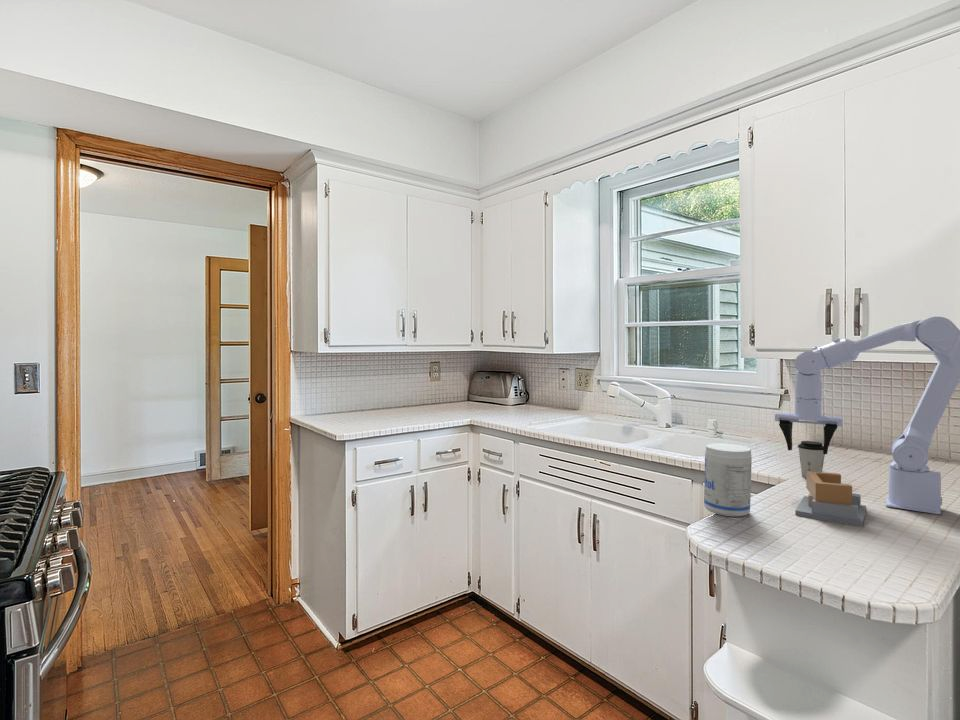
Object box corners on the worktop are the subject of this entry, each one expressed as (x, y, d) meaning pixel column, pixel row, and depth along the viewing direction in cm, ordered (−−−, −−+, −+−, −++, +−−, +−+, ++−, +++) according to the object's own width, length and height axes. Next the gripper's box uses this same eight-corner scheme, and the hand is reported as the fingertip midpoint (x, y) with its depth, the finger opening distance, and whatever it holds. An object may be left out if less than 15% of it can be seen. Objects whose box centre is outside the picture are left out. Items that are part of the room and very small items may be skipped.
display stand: (865, 510, 118) (866, 494, 118) (862, 526, 107) (862, 510, 107) (804, 500, 125) (804, 485, 125) (795, 514, 114) (795, 499, 114)
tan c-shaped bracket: (839, 490, 121) (839, 473, 121) (851, 505, 110) (852, 486, 110) (806, 487, 124) (806, 470, 124) (815, 501, 113) (815, 483, 113)
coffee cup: (832, 479, 145) (832, 444, 144) (813, 481, 142) (813, 445, 142) (809, 473, 151) (809, 439, 151) (791, 475, 149) (791, 441, 149)
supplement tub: (696, 505, 122) (696, 443, 121) (734, 503, 123) (734, 442, 122) (719, 519, 112) (719, 451, 112) (760, 517, 113) (761, 450, 113)
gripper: (844, 399, 130) (843, 452, 130) (778, 395, 139) (777, 445, 140) (841, 401, 125) (840, 457, 125) (773, 397, 134) (772, 449, 134)
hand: (807, 451), depth 132 cm, fingers open, 7 cm apart
